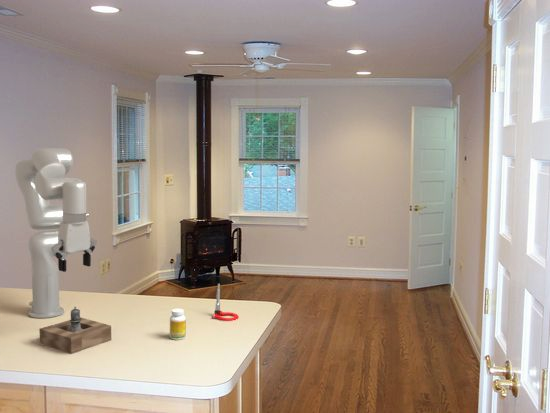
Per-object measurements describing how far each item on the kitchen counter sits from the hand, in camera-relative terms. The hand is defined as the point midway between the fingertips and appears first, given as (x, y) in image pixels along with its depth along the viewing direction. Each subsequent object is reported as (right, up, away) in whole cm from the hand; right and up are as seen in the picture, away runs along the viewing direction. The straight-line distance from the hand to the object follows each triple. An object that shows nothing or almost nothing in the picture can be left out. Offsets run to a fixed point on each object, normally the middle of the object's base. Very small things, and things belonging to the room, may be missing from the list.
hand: (74, 268), depth 201 cm
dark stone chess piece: (+1, -24, -2) cm, 24 cm away
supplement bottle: (+34, -24, +3) cm, 42 cm away
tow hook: (+49, -22, +27) cm, 60 cm away
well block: (+1, -24, -3) cm, 24 cm away
